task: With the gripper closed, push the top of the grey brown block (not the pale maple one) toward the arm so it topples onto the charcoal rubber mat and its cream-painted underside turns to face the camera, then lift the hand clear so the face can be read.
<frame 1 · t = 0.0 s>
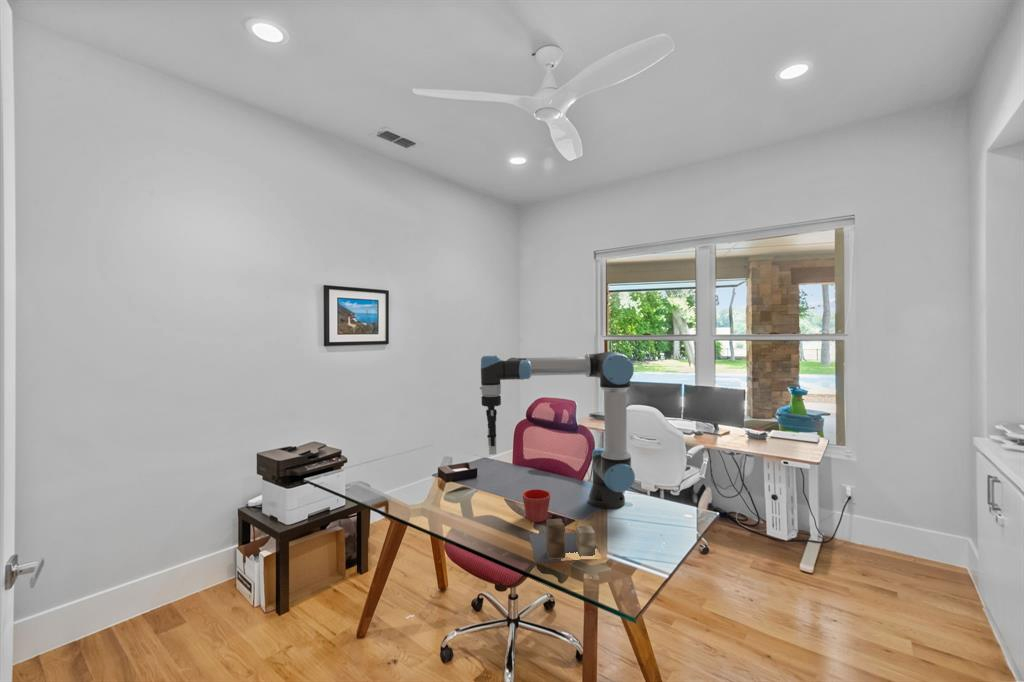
hand: (492, 449, 178), 28 cm above the table, fingers open, 13 cm apart
grey brown block: (555, 555, 149), resting on mat
flower pot: (536, 518, 180), on the table
maple block: (585, 553, 150), resting on mat
mat: (564, 547, 156), on the table
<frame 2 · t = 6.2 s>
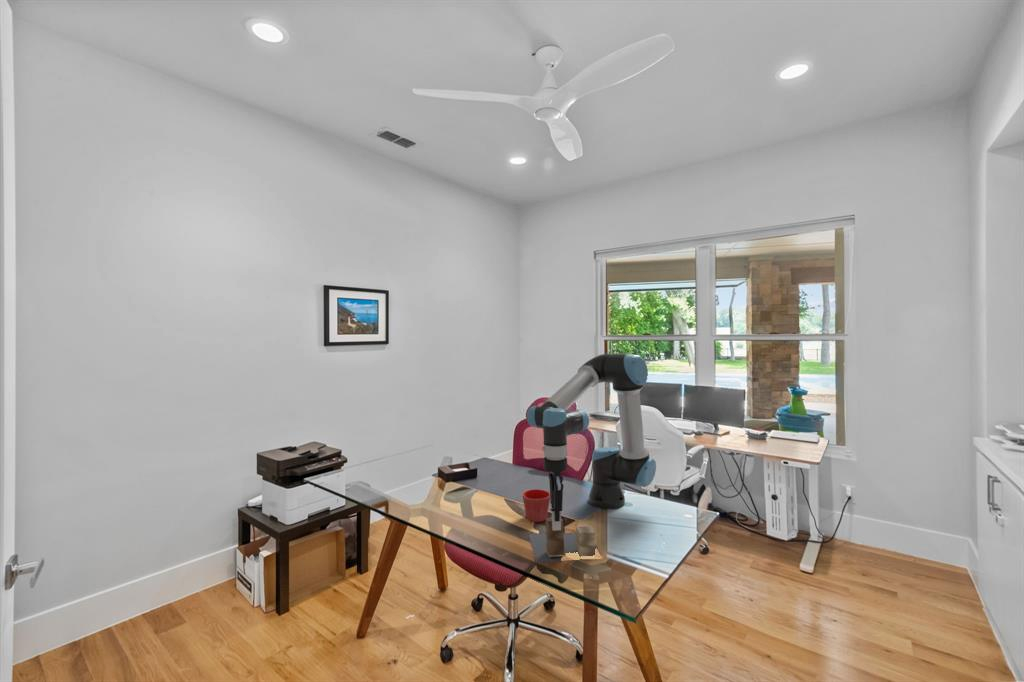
hand: (556, 529, 147), 10 cm above the table, fingers closed
grey brown block: (555, 554, 149), point 1 cm above the table, tilted 9°, touching mat
everything else where it was.
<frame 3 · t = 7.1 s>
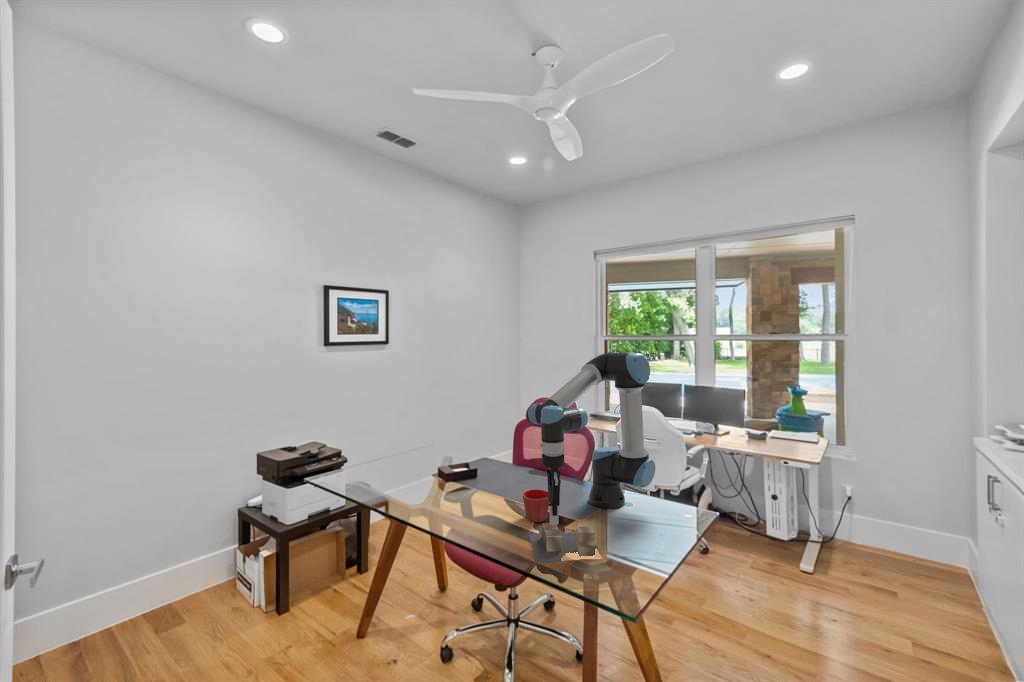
hand: (554, 523, 152), 10 cm above the table, fingers closed
grey brown block: (554, 544, 152), point 3 cm above the table, tilted 90°, touching mat
everything else where it was.
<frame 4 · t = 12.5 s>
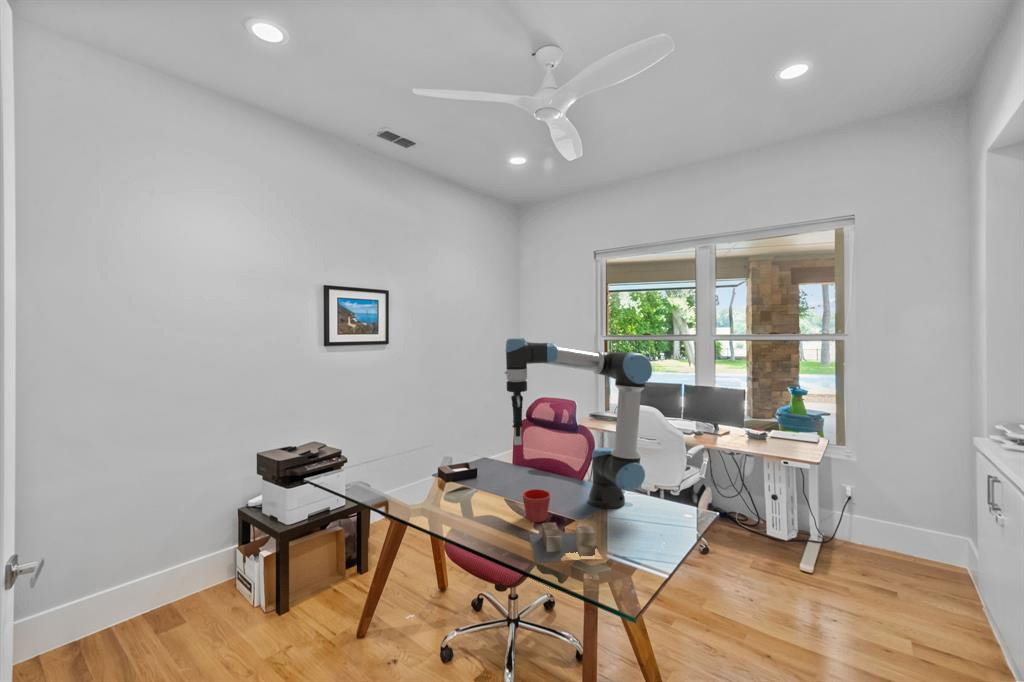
hand: (517, 444, 168), 32 cm above the table, fingers closed
nothing on the table moved.
at the end: grey brown block tilted 90°; grey brown block inside the target area (4.0 cm from its centre), point 2.9 cm above the table; maple block moved 0.0 cm from its start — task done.
